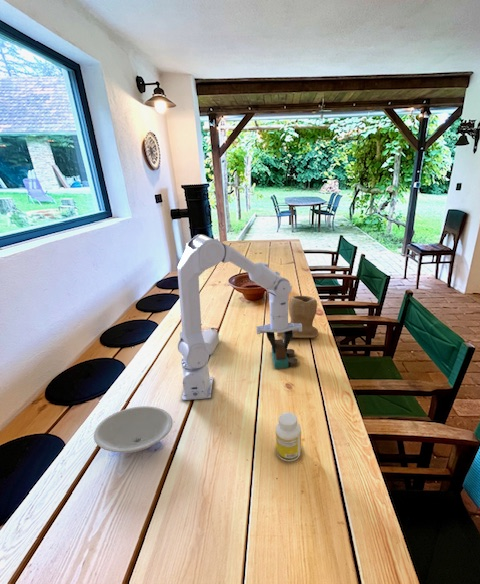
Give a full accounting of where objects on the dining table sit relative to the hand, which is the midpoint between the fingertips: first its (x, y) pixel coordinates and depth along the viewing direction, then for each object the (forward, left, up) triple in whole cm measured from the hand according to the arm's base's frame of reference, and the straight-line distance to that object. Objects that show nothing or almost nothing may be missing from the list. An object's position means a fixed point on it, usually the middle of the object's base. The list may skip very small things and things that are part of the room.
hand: (279, 351), depth 106 cm
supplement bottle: (-39, +3, -4) cm, 39 cm away
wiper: (0, 0, -3) cm, 3 cm away
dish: (-32, +38, -4) cm, 50 cm away
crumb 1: (+3, -4, -3) cm, 6 cm away
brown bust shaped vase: (+18, -9, -4) cm, 21 cm away
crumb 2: (-3, -4, -3) cm, 6 cm away
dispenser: (+15, +26, -1) cm, 30 cm away
